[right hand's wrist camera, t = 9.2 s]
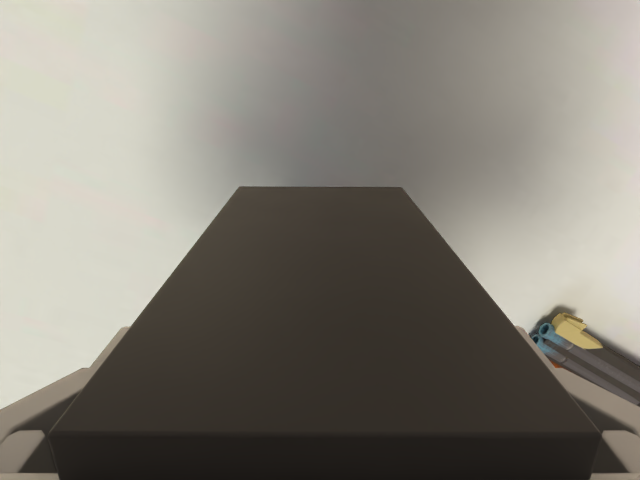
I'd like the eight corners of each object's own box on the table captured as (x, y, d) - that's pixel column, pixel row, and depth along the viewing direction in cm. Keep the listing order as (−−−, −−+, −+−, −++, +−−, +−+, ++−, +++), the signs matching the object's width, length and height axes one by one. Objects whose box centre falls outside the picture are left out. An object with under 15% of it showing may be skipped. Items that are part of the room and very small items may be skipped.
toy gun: (678, 540, 31) (811, 465, 27) (464, 422, 29) (573, 322, 25) (656, 504, 34) (774, 430, 29) (457, 393, 31) (555, 298, 27)
